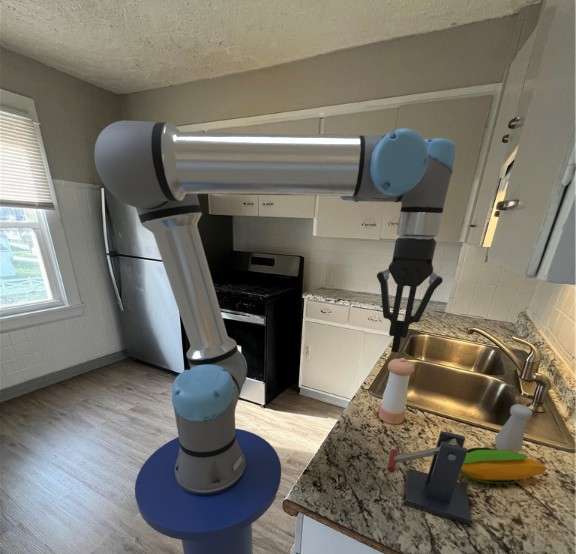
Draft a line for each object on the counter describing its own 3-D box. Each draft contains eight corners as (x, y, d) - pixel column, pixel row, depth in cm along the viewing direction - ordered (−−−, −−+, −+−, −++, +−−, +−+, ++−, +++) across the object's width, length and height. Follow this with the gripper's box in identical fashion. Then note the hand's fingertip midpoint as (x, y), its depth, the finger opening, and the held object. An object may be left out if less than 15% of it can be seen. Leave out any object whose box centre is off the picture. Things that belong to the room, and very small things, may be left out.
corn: (454, 439, 72) (540, 441, 72) (445, 463, 76) (527, 465, 76) (470, 463, 66) (564, 465, 66) (459, 488, 69) (549, 490, 70)
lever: (390, 474, 65) (385, 465, 65) (393, 456, 70) (388, 448, 70) (462, 461, 58) (457, 450, 58) (459, 442, 63) (455, 432, 63)
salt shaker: (518, 460, 78) (538, 417, 72) (492, 452, 80) (509, 409, 75) (517, 447, 82) (536, 405, 77) (492, 439, 85) (508, 398, 79)
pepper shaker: (406, 415, 95) (419, 357, 86) (400, 427, 89) (414, 366, 81) (382, 407, 98) (392, 351, 90) (375, 418, 92) (385, 359, 84)
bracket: (404, 504, 65) (419, 447, 58) (407, 472, 73) (420, 419, 67) (469, 525, 61) (493, 466, 54) (464, 488, 69) (484, 434, 63)
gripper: (452, 238, 62) (426, 349, 72) (384, 235, 66) (368, 340, 76) (454, 240, 56) (425, 361, 66) (379, 236, 60) (363, 350, 70)
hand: (395, 349), depth 71 cm, fingers closed
